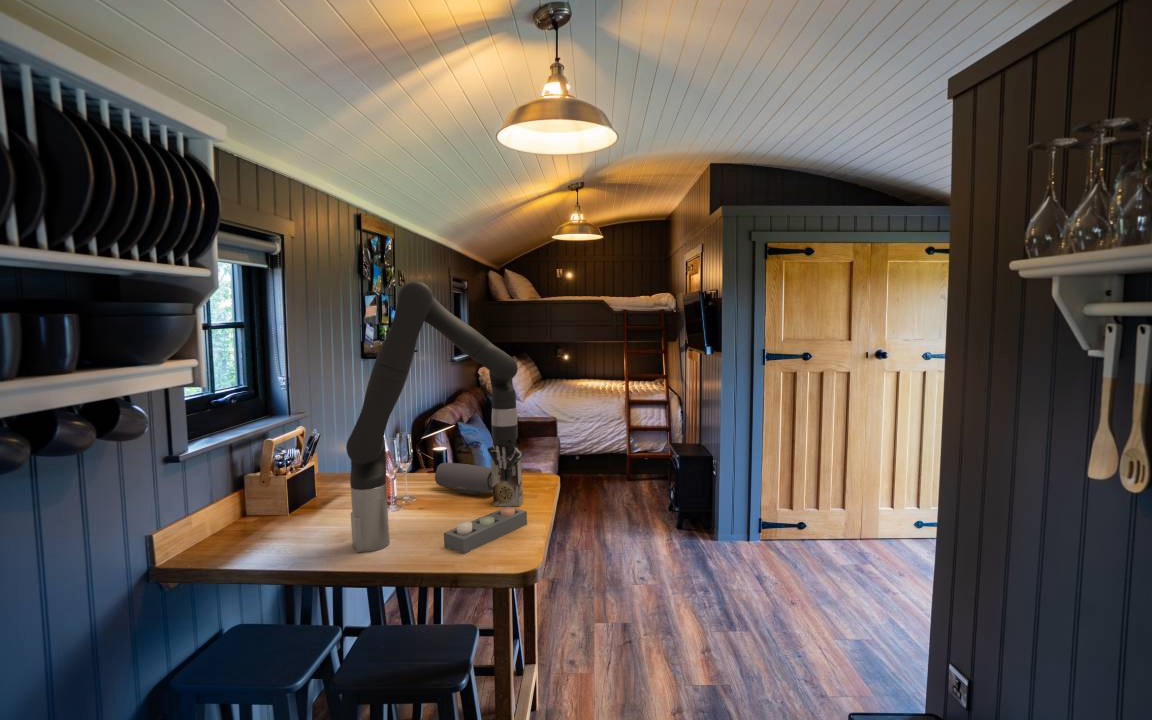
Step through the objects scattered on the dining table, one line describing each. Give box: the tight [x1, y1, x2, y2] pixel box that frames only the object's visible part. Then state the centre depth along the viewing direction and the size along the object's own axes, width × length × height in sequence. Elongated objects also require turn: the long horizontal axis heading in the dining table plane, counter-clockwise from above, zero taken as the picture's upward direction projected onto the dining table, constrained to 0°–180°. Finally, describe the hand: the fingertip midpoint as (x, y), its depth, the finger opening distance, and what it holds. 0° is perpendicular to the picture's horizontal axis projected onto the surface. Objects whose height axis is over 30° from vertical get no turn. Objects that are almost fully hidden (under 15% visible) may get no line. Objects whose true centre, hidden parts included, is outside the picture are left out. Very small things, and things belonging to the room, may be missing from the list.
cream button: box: [456, 520, 472, 536], centre depth 155 cm, size 4×4×3 cm
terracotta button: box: [500, 507, 515, 517], centre depth 169 cm, size 4×4×3 cm
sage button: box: [479, 516, 495, 526], centre depth 162 cm, size 4×4×3 cm
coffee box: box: [490, 458, 524, 507], centre depth 189 cm, size 9×6×16 cm
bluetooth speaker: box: [434, 462, 493, 495], centre depth 202 cm, size 23×9×10 cm, turn 64°
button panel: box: [443, 506, 528, 554], centre depth 162 cm, size 25×8×4 cm, turn 143°
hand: (505, 480), depth 168 cm, fingers closed
